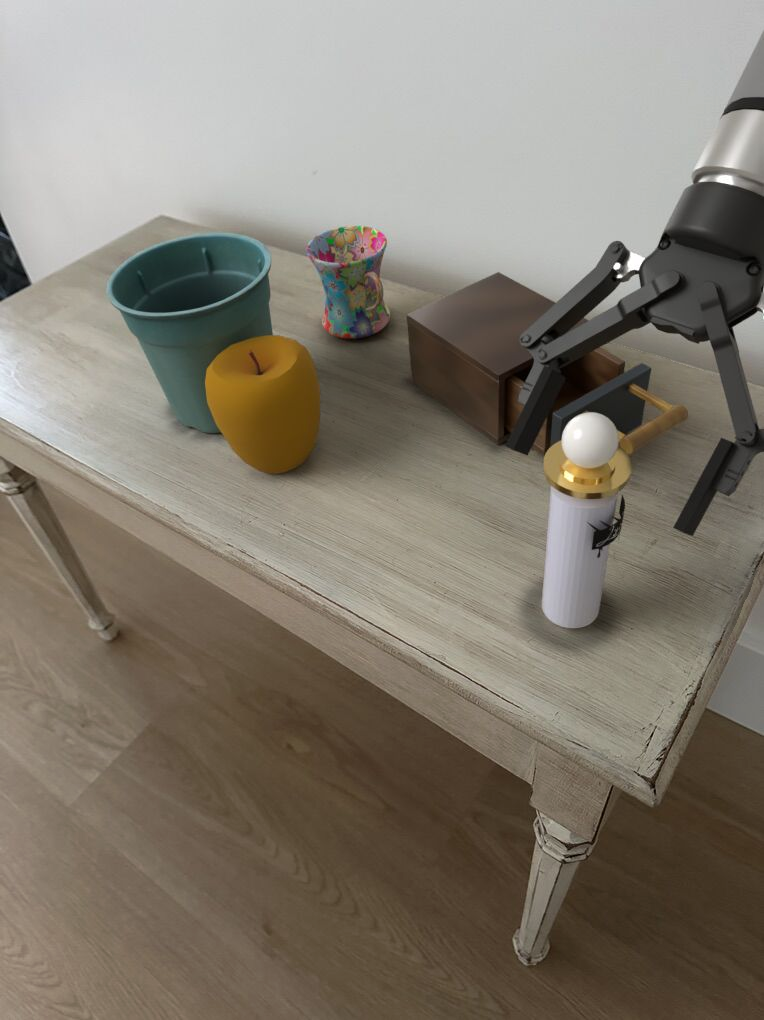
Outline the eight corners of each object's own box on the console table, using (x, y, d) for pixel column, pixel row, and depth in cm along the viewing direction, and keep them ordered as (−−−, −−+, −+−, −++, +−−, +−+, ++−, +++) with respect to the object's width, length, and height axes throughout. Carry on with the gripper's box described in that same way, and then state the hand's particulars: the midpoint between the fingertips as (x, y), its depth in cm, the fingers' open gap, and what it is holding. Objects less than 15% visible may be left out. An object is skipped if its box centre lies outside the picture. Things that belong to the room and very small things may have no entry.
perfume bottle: (520, 619, 64) (529, 428, 50) (555, 573, 67) (572, 381, 53) (585, 652, 61) (614, 459, 47) (618, 603, 64) (654, 408, 50)
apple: (273, 410, 87) (249, 306, 78) (352, 440, 82) (336, 333, 73) (205, 469, 81) (170, 364, 72) (286, 505, 76) (259, 397, 67)
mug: (307, 321, 100) (292, 242, 92) (370, 296, 102) (361, 217, 95) (353, 365, 92) (341, 282, 84) (420, 337, 95) (414, 254, 87)
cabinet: (588, 394, 84) (596, 324, 78) (498, 445, 80) (498, 375, 74) (497, 338, 93) (498, 271, 87) (411, 381, 89) (406, 314, 83)
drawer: (693, 456, 75) (707, 398, 70) (606, 511, 71) (615, 454, 66) (546, 366, 87) (550, 311, 82) (465, 409, 83) (464, 354, 78)
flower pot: (126, 437, 86) (72, 306, 75) (196, 352, 97) (157, 227, 86) (262, 457, 82) (226, 322, 70) (319, 366, 92) (296, 235, 81)
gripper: (944, 274, 49) (774, 574, 53) (596, 187, 63) (479, 431, 66) (950, 227, 43) (757, 570, 47) (562, 140, 56) (435, 413, 60)
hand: (594, 489), depth 56 cm, fingers open, 13 cm apart
